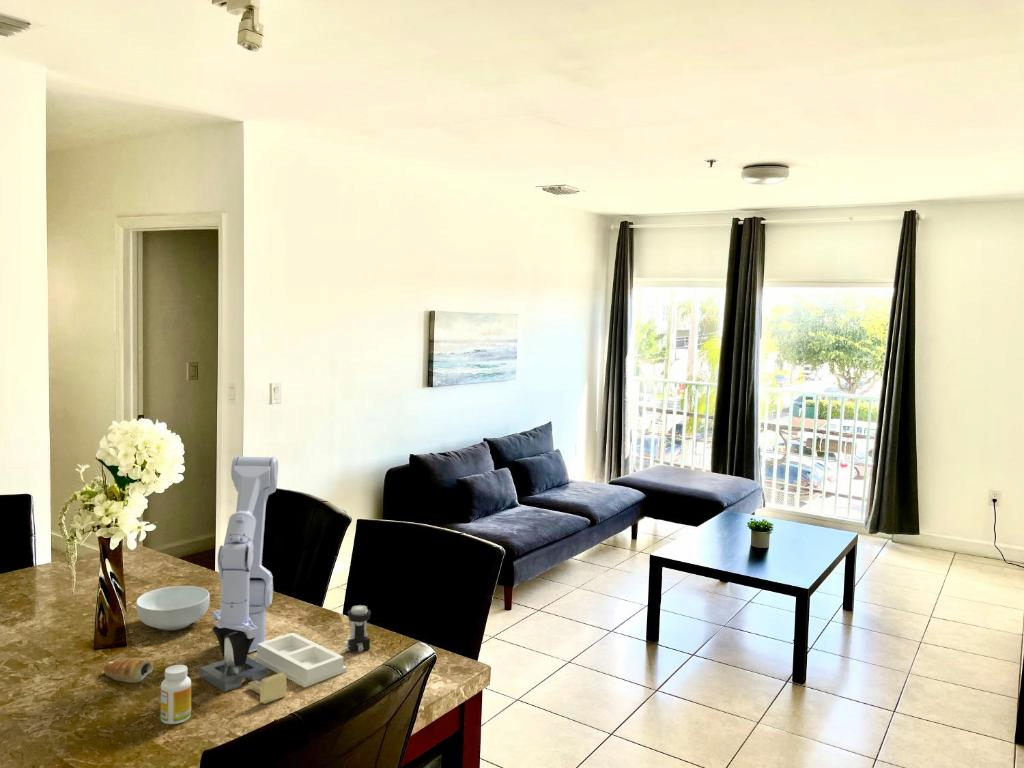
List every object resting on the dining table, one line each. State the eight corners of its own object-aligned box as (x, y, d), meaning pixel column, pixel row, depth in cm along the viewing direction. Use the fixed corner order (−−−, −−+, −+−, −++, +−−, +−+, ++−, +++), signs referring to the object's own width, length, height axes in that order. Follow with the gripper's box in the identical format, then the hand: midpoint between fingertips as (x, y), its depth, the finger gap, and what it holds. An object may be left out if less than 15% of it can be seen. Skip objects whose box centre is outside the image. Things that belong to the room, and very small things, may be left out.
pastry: (96, 680, 169) (96, 662, 168) (115, 667, 175) (116, 650, 175) (138, 685, 167) (138, 667, 167) (156, 671, 174) (156, 654, 174)
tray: (253, 659, 181) (253, 644, 181) (295, 646, 189) (295, 631, 189) (304, 687, 169) (304, 671, 169) (346, 671, 177) (347, 655, 177)
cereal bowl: (156, 610, 208) (156, 583, 208) (220, 613, 208) (220, 586, 207) (122, 636, 191) (122, 607, 191) (191, 639, 191) (192, 610, 190)
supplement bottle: (195, 711, 157) (195, 663, 156) (184, 725, 152) (185, 675, 151) (167, 710, 157) (167, 662, 156) (155, 724, 152) (156, 674, 151)
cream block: (241, 690, 166) (241, 669, 166) (263, 682, 170) (263, 661, 169) (264, 704, 161) (264, 682, 160) (286, 695, 165) (286, 674, 164)
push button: (346, 657, 185) (347, 614, 184) (337, 648, 189) (338, 607, 188) (373, 651, 188) (374, 609, 187) (364, 643, 193) (365, 602, 192)
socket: (199, 676, 172) (200, 667, 172) (242, 662, 179) (242, 653, 179) (225, 692, 165) (225, 682, 165) (267, 676, 173) (268, 667, 173)
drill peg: (220, 676, 172) (220, 635, 171) (237, 671, 175) (237, 630, 175) (230, 682, 170) (231, 641, 169) (247, 676, 173) (248, 636, 172)
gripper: (199, 594, 173) (199, 656, 174) (236, 612, 163) (235, 677, 164) (229, 587, 178) (229, 647, 179) (267, 604, 169) (266, 667, 170)
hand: (234, 661), depth 172 cm, fingers closed on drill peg, 4 cm apart
